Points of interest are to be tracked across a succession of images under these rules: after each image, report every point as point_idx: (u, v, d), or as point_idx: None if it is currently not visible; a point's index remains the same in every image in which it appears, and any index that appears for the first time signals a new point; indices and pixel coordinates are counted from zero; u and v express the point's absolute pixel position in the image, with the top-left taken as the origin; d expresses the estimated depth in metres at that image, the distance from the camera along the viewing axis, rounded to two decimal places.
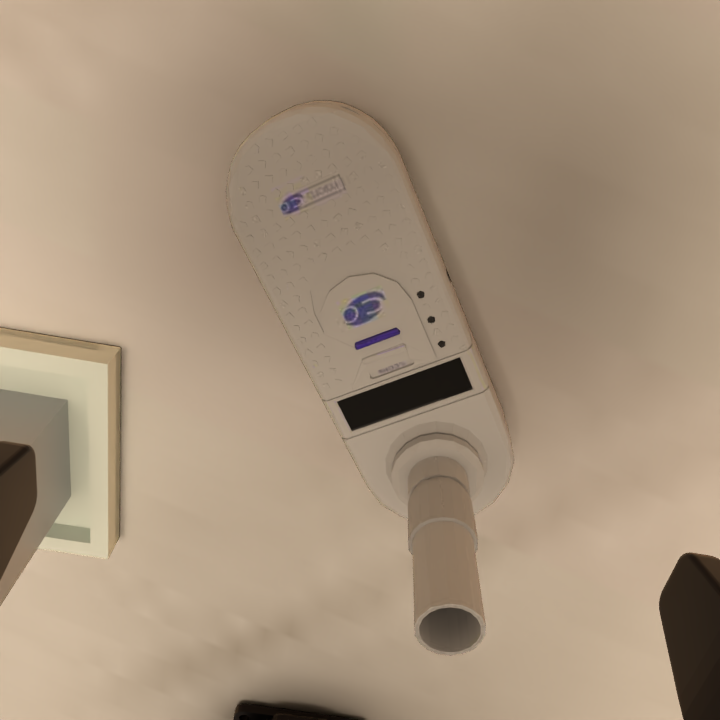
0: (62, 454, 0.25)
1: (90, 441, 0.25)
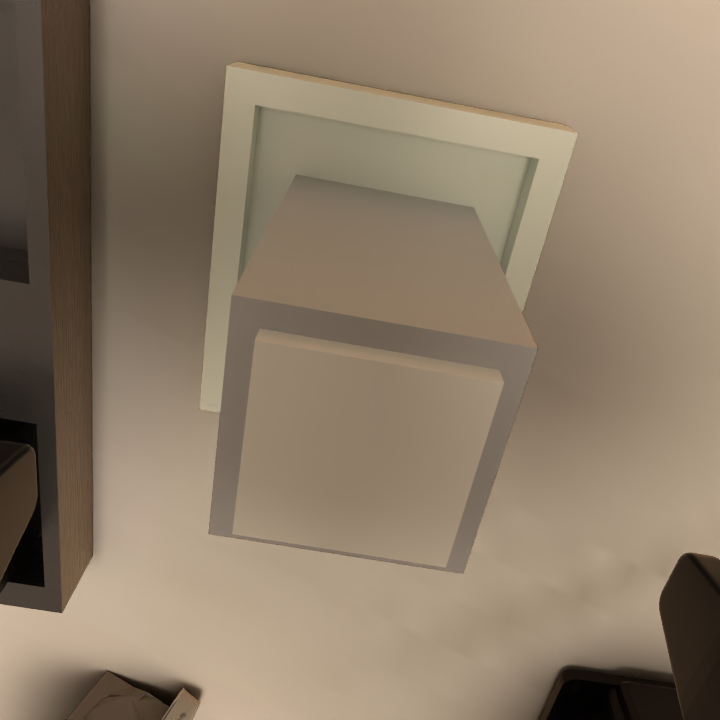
0: None
1: (511, 266, 0.17)
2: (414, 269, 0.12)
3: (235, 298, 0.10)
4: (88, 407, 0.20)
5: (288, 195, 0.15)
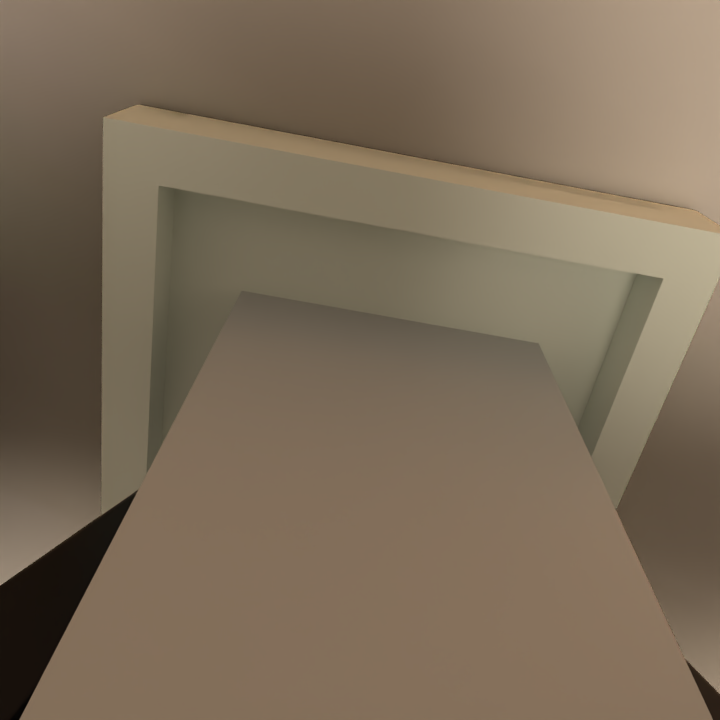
0: None
1: (602, 444, 0.10)
2: (464, 615, 0.05)
3: None
4: None
5: (214, 355, 0.08)
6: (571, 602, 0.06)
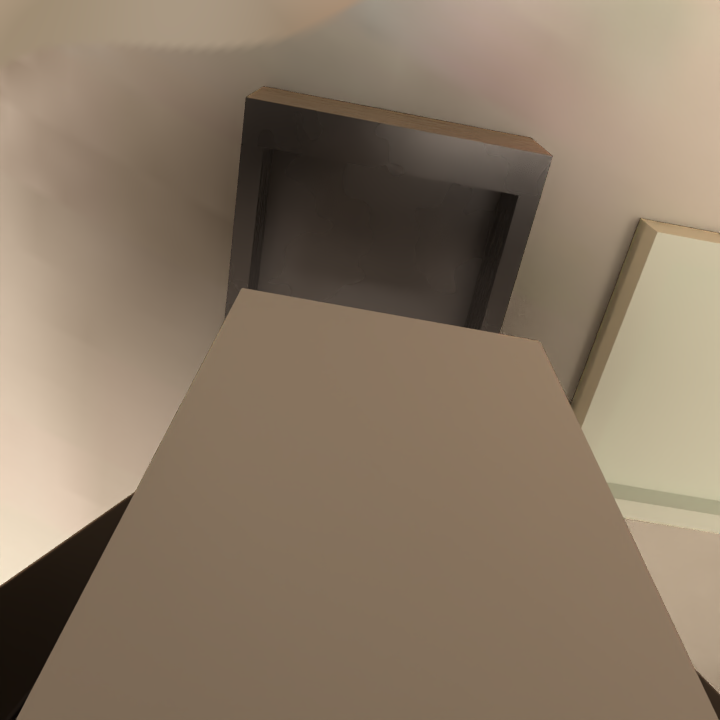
0: None
1: None
2: (465, 613, 0.05)
3: None
4: None
5: (214, 352, 0.08)
6: (574, 600, 0.06)
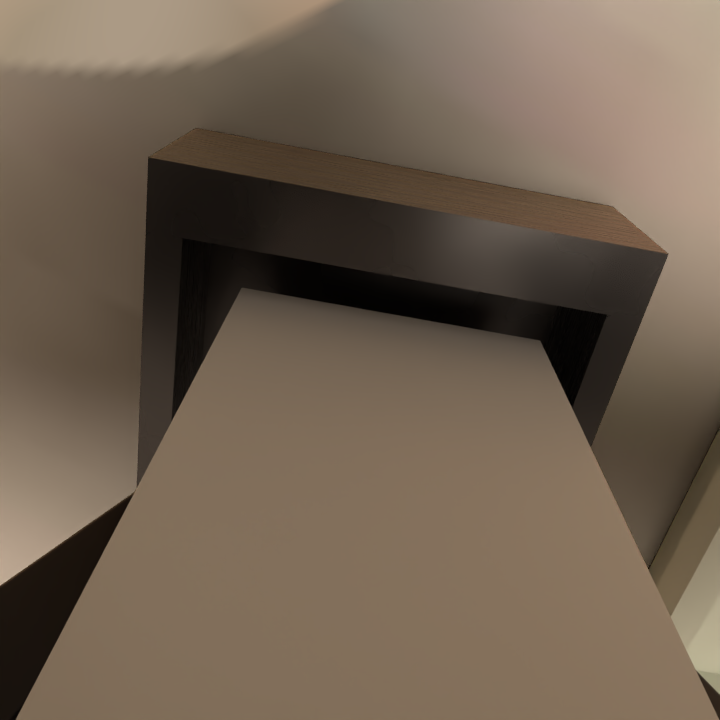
0: None
1: None
2: (465, 612, 0.05)
3: None
4: None
5: (214, 351, 0.08)
6: (574, 599, 0.06)
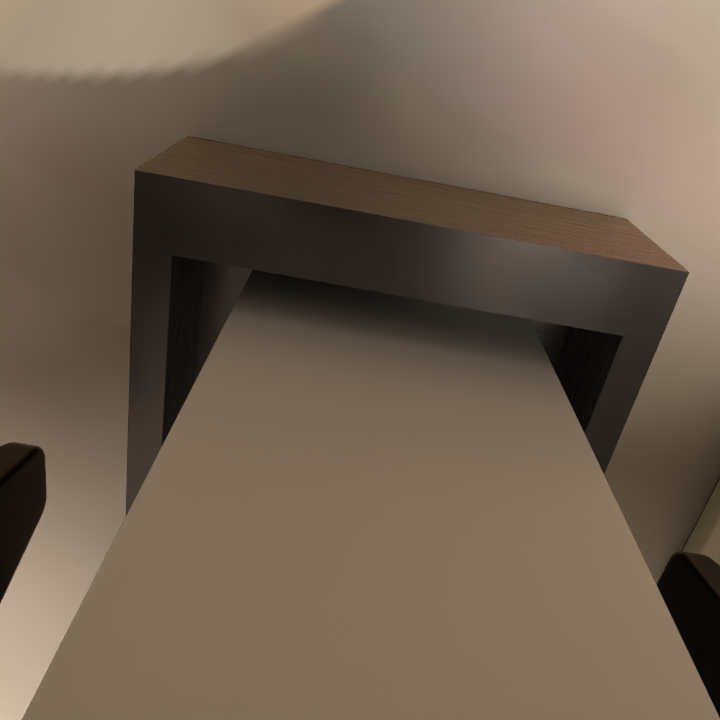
0: None
1: None
2: (456, 526, 0.06)
3: None
4: None
5: (233, 319, 0.09)
6: (550, 519, 0.06)
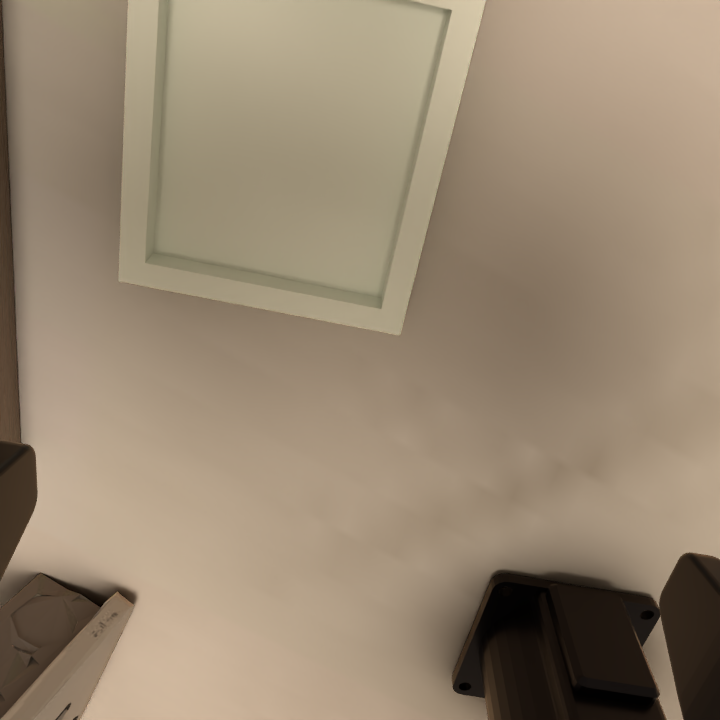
0: None
1: (427, 128, 0.17)
2: None
3: None
4: (10, 284, 0.20)
5: None
6: None
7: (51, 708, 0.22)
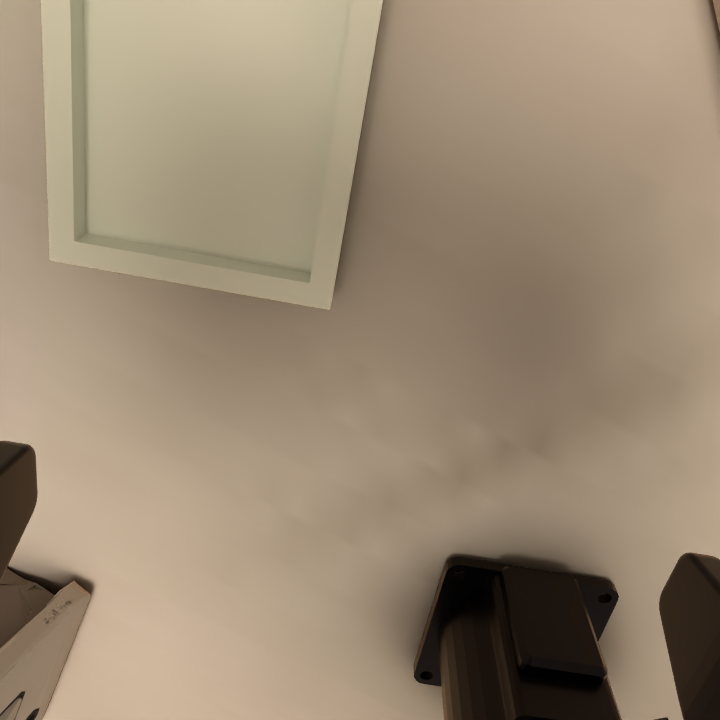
0: None
1: (340, 98, 0.17)
2: None
3: None
4: None
5: None
6: None
7: None
